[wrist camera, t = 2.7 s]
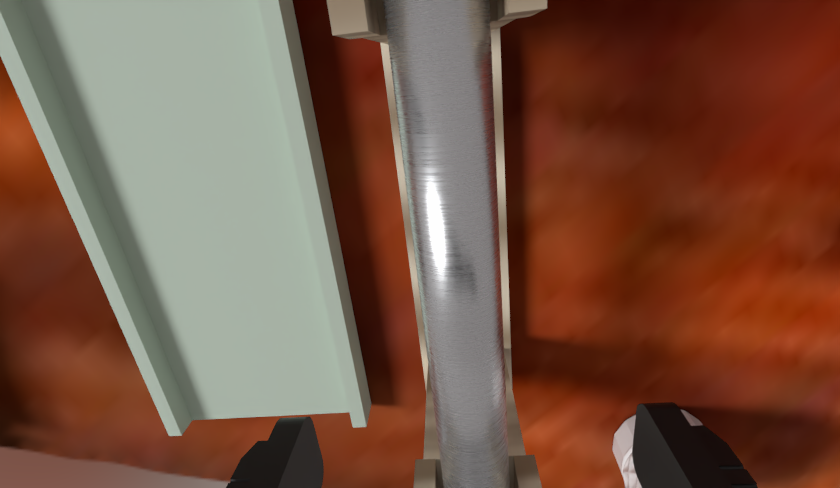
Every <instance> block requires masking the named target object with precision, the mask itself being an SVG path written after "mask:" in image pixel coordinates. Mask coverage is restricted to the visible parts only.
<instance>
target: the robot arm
mask: <svg viewBox="0 0 840 488" xmlns="http://www.w3.org/2000/svg"><path fill="white" fill-rule="evenodd" d="M632 457H633V464H634V468H635V472H636V475H637V478H638V480H639V482H640V485H641V487H642V488H758V487H757V483H756V482H755V481H754V479H753V478H752V477H751V475H750V474H749V473H748V471H747V470H744V468H743V465H742V463H741V462H740V460H739V459H738V458H737V456H736V455H735V454H734V452H733V451H732V450H731V448H730V447H729V446H728V444H727V443H726V442H724V441H723V440H722V439H721V438H719V437H718V436H717V435H715V434H714V433H713V432H712V431H710V430H709V429H708V428H706V427H705V426H704V425H698V426H691V425H690V423H689V422H688V420H687V419H686V417H685V416H684V414H683V413H682V411H681V410H680V409H679V407H678V406H677V405H676V404H675V403H672V402H670V403H646V404H639V405H638V406H637V410H636V419H635V429H634V438H633V447H632ZM322 481H323V459H322V455H321V452H320V448H319V444H318V440H317V436H316V432H315V428H314V425H313V421H312V419H311V418H310V417H296V418H280V419H279V420H278V421H277V423H276V425H275V427H274V429H273V431H272V433H271V435H270V437H269V439H268V441H258V442H257V443H256V444H255V445H254V446H253V447H252V448H251V449H250V450H249V451H248V452H247V453H246V454H245V455H244V456H243V457H242V458H241V460H240V462H239V464H238V466H237V468H236V470H235V472H234V473H233V475H232V477H231V482H230V483H228V485H227V487H226V488H321V486H322Z"/></svg>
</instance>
